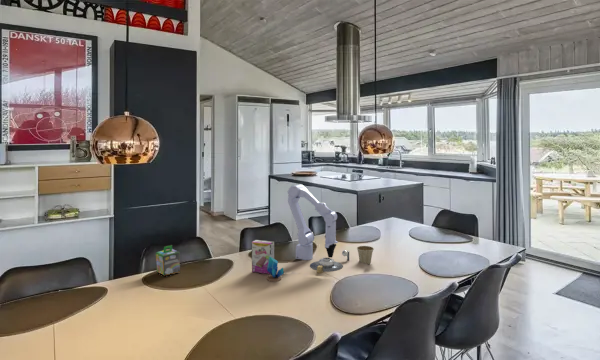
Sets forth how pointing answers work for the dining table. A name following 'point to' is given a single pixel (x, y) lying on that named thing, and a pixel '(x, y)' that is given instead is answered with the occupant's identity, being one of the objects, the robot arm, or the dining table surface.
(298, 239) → the robot arm
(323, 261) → the cover
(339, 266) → the turntable
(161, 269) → the chalk box
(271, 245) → the candy bar box
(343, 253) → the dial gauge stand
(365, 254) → the flower pot
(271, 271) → the gemstone
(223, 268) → the dining table surface
